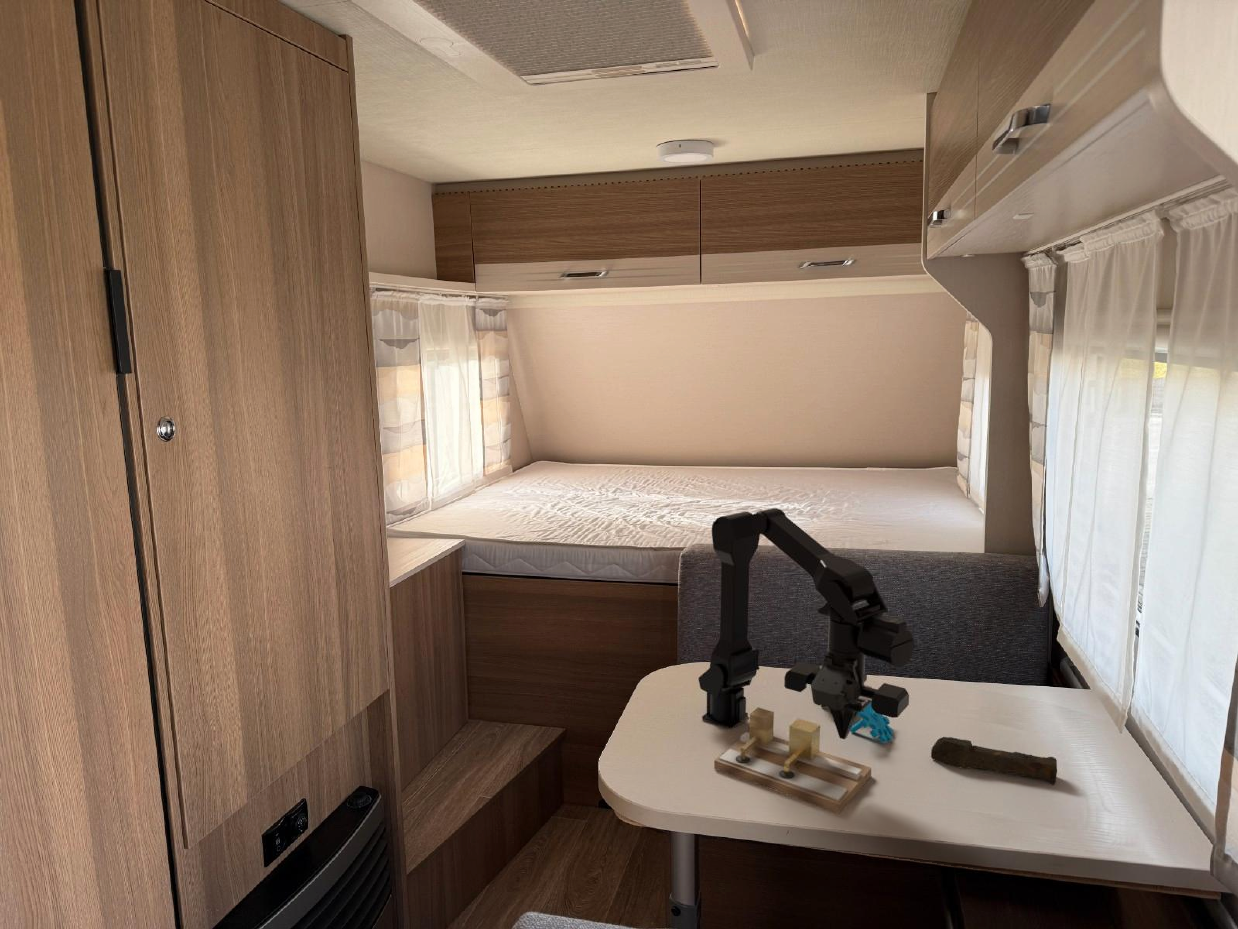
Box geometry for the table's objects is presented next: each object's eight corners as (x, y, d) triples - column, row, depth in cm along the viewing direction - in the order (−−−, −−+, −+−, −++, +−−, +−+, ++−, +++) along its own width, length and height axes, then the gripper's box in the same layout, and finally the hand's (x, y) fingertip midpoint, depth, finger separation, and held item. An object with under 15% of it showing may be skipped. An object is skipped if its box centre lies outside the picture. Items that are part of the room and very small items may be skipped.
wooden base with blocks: (714, 768, 143) (714, 727, 141) (751, 737, 153) (752, 698, 152) (839, 813, 130) (841, 768, 128) (871, 776, 140) (872, 733, 138)
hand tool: (1055, 776, 140) (1057, 750, 139) (1056, 788, 136) (1058, 761, 135) (932, 753, 147) (933, 728, 146) (930, 765, 144) (932, 739, 143)
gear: (887, 746, 146) (849, 696, 149) (861, 763, 148) (824, 714, 152) (903, 728, 155) (867, 681, 159) (878, 744, 158) (843, 698, 161)
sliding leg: (774, 770, 138) (774, 738, 137) (797, 749, 145) (797, 718, 144) (796, 778, 136) (797, 746, 135) (819, 756, 142) (820, 725, 141)
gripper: (769, 649, 134) (767, 741, 136) (886, 678, 123) (882, 778, 125) (800, 628, 142) (798, 715, 145) (912, 653, 131) (907, 747, 134)
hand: (843, 738), depth 137 cm, fingers closed
